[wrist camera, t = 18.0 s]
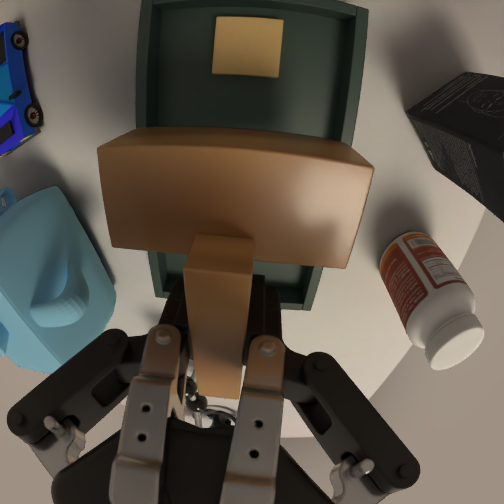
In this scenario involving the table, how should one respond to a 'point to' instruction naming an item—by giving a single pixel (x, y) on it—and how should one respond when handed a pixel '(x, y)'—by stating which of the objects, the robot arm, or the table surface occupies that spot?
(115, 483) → the robot arm
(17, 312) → the teapot
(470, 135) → the box
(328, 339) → the table surface
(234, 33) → the tan square tile
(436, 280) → the pill bottle
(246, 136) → the brush
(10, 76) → the toy car
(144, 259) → the table surface
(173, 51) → the tray
